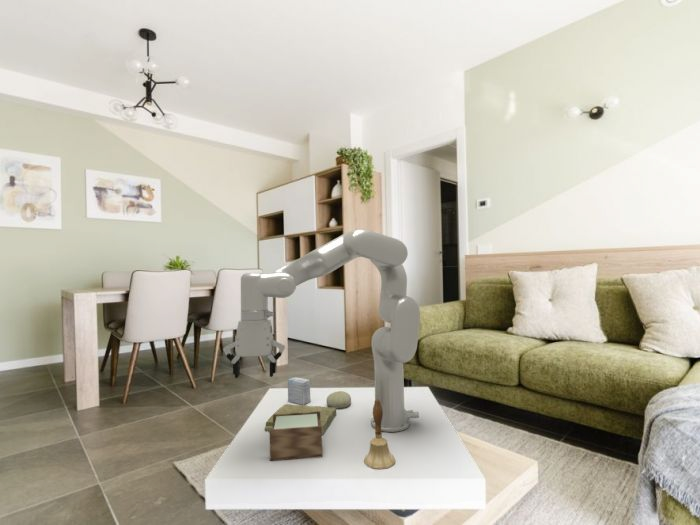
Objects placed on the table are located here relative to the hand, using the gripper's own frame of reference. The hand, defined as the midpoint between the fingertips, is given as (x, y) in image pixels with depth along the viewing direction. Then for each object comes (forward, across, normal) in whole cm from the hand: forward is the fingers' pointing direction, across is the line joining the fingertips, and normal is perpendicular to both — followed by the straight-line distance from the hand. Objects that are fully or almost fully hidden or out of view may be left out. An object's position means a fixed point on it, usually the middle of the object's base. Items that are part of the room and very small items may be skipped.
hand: (254, 376), depth 104 cm
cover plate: (+15, -12, 0) cm, 19 cm away
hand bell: (+21, -34, +10) cm, 41 cm away
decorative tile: (+22, -12, -18) cm, 30 cm away
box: (+21, -12, 0) cm, 24 cm away
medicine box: (+21, -10, -38) cm, 44 cm away
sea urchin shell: (+21, -26, -32) cm, 46 cm away
